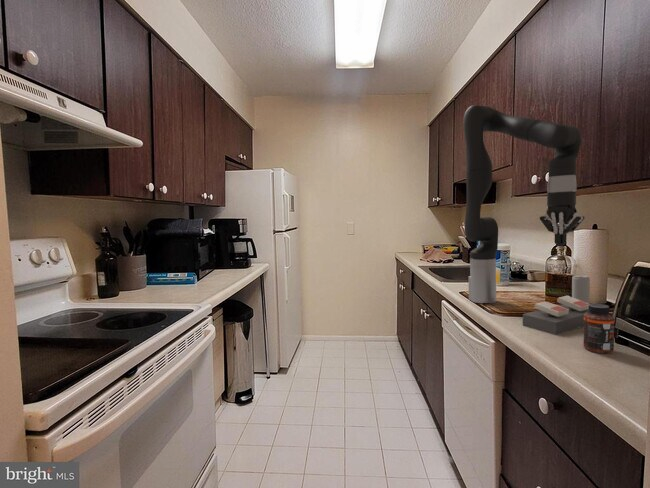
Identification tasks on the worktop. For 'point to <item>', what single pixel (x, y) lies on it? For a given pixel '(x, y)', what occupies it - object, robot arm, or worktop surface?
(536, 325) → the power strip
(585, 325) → the supplement bottle
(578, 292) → the beverage can
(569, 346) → the worktop surface
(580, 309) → the rocker outlet
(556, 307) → the rocker outlet
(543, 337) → the worktop surface
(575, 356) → the worktop surface
